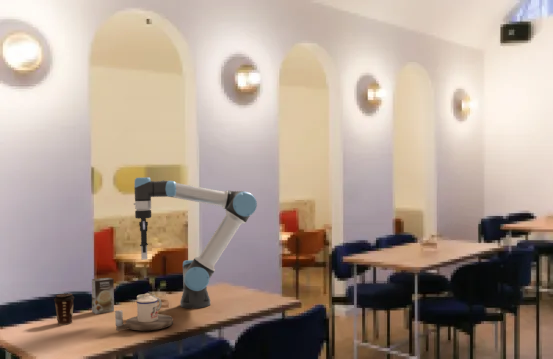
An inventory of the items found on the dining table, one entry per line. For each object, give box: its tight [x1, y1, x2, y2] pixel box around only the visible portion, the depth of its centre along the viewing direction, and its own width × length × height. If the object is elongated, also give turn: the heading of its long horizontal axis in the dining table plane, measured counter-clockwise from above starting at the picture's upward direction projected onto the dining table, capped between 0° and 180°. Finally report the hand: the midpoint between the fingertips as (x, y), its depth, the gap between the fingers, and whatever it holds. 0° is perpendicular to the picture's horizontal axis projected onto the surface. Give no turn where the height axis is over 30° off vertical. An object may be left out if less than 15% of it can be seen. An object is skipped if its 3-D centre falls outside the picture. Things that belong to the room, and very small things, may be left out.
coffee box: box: [91, 277, 115, 315], centre depth 295 cm, size 9×6×16 cm
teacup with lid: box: [136, 292, 159, 323], centre depth 264 cm, size 12×9×12 cm
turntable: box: [114, 309, 174, 331], centre depth 262 cm, size 24×20×8 cm
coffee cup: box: [53, 292, 75, 326], centre depth 274 cm, size 9×8×13 cm
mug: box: [136, 293, 163, 311], centre depth 284 cm, size 8×13×10 cm, turn 137°
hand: (144, 259), depth 287 cm, fingers closed
